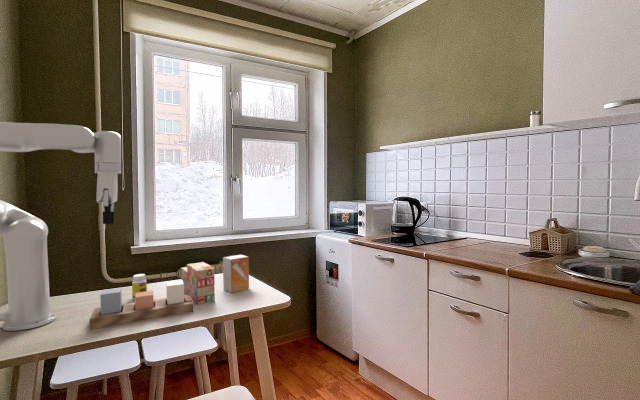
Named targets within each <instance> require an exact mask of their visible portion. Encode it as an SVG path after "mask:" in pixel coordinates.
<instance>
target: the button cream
mask: <svg viewBox="0 0 640 400" xmlns="http://www.w3.org/2000/svg"><path fill="white" fill-rule="evenodd" d="M165 286H166V298H167V304H168V305H169V304H175V303H182V302H184V295H185V293H184V283H183V280H181V279H180V280H174V281H167V282H166V285H165Z"/></svg>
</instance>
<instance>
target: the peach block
mask: <svg viewBox="0 0 640 400" xmlns="http://www.w3.org/2000/svg"><path fill="white" fill-rule="evenodd" d="M153 300H154V290H147V292H139V293H136V295H135V299H134V301H135V302H134V303H135V307H136V310H139V309H146V308H152V307H154V302H153Z"/></svg>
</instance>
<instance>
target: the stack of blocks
mask: <svg viewBox="0 0 640 400" xmlns="http://www.w3.org/2000/svg"><path fill="white" fill-rule="evenodd" d="M180 277H181V279H180V281H181V280H183V283H184V295H190V296H191V298H192V301H193V304H195V305H196V306H200V305H204V304H209V303H214V302H216V301H215V300H216V297H215V296H216V295H215V293H216V292H215V281H216V280H215V279H216V278H215V267H214V266H212V265H210V264H208V263H206V262H204V261H201V262H195V263H187V264H186V266H184V267H180Z"/></svg>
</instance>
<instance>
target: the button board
mask: <svg viewBox="0 0 640 400" xmlns="http://www.w3.org/2000/svg"><path fill="white" fill-rule="evenodd" d="M153 302H154V307H152V308H146V309H139V310H136V307H135V302H129V303H122V308H121V312H116V313H109V314H102V315H101V306H100V307H95V308H93V311H92V313H91V315H90V318H89V330H95V329H100V328H107V327H108V328H109V327H113V326H118V325H119V326H120V325H125V324H126V325H127V324H131V323H137V322H144V321H149V320H155V319H161V318H167V317H169V318H170V317H173V316H178V315H179V316H181V315H186V314H192V313H194V302H193V300H192V298H191V296H190V295H186V294H184V302H182V303H175V304H169V305H168V304H167V297H163V298H158V299H157V298H156V299H153Z"/></svg>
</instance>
